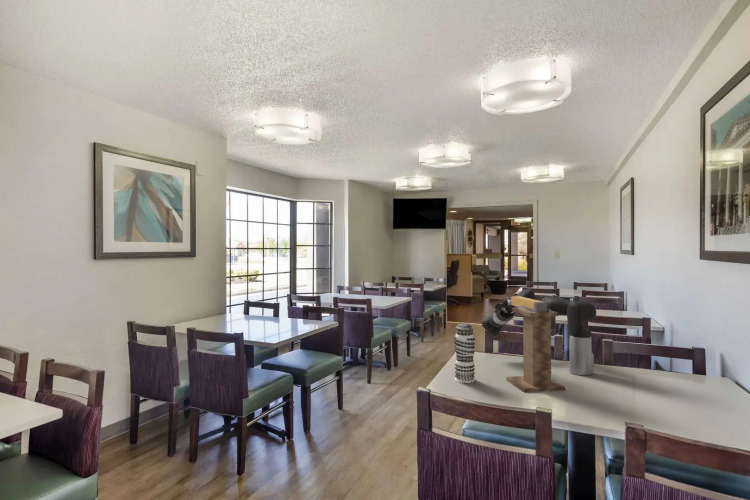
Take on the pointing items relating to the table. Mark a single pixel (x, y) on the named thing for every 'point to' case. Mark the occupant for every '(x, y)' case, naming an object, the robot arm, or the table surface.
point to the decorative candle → (464, 353)
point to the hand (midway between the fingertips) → (515, 301)
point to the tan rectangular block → (529, 303)
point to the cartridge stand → (536, 352)
